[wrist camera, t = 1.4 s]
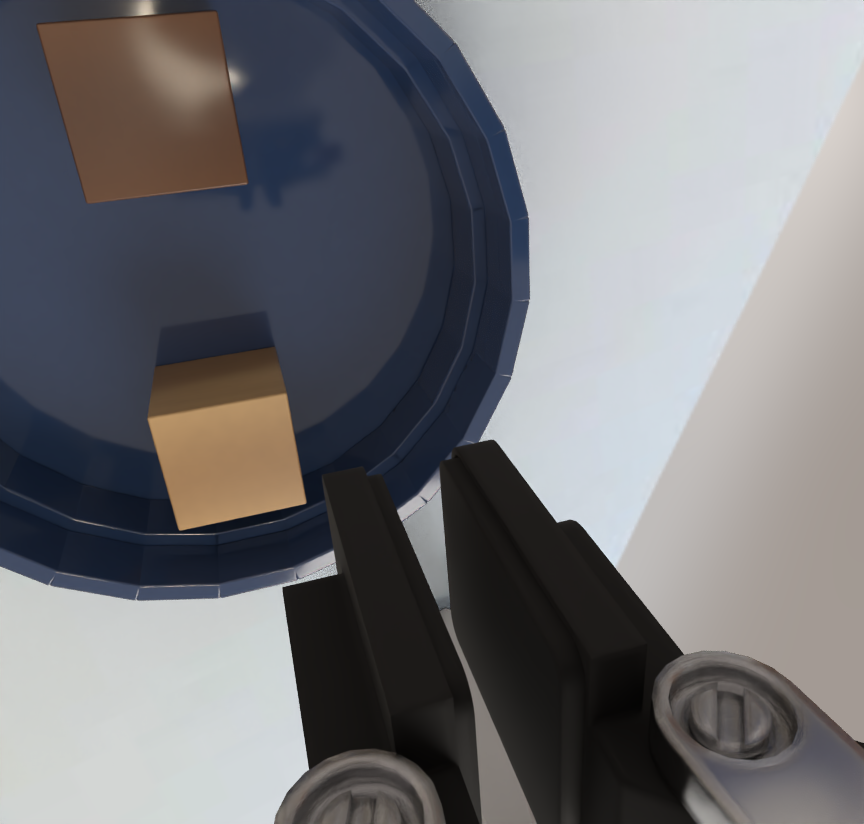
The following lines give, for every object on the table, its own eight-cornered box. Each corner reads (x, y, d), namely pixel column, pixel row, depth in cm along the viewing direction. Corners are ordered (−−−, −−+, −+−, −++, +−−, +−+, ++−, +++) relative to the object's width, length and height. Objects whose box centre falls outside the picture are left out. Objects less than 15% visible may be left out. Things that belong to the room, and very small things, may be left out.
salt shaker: (366, 691, 34) (446, 1004, 23) (397, 590, 32) (502, 879, 21) (480, 691, 36) (605, 979, 25) (516, 597, 34) (670, 864, 23)
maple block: (154, 366, 25) (146, 417, 21) (275, 345, 25) (286, 392, 22) (181, 468, 26) (178, 532, 23) (293, 446, 27) (307, 504, 24)
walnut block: (63, 27, 20) (34, 23, 17) (214, 15, 21) (217, 9, 17) (104, 179, 22) (86, 204, 18) (241, 163, 23) (249, 184, 19)
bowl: (-302, -69, 18) (-463, -106, 13) (460, -103, 22) (524, -141, 17) (-21, 565, 27) (-63, 665, 22) (486, 458, 31) (533, 525, 26)
